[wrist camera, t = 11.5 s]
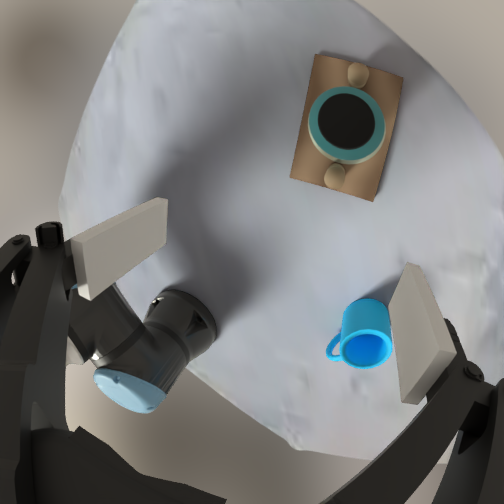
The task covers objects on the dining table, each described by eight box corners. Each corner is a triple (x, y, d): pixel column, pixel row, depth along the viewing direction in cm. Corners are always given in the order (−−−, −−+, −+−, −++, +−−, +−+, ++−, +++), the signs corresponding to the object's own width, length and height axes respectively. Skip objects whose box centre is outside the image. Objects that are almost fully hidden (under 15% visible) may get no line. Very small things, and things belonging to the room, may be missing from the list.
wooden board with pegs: (291, 175, 41) (280, 185, 34) (316, 56, 32) (309, 41, 26) (372, 199, 38) (377, 214, 32) (401, 79, 30) (412, 69, 23)
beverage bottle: (368, 155, 35) (388, 179, 17) (319, 145, 36) (292, 160, 19) (374, 108, 32) (402, 85, 14) (325, 98, 33) (302, 67, 16)
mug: (373, 289, 44) (376, 319, 37) (397, 322, 45) (401, 354, 38) (315, 323, 50) (308, 354, 43) (341, 351, 51) (337, 383, 43)
